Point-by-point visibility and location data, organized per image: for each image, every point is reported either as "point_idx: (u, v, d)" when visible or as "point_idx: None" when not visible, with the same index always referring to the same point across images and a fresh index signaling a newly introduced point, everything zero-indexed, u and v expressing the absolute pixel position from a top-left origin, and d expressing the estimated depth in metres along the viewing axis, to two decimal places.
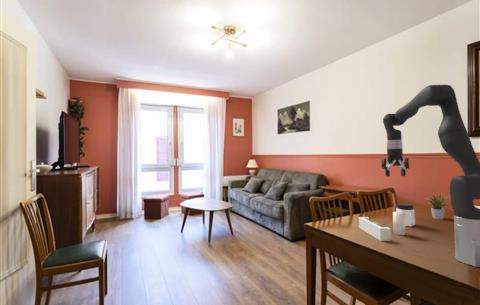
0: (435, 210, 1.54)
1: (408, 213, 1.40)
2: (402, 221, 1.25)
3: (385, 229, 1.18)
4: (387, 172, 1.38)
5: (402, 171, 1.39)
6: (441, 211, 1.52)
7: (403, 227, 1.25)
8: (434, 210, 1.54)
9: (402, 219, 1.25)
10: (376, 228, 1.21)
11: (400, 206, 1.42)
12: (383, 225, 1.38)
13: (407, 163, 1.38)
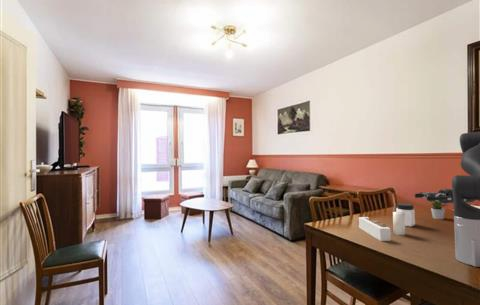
0: (435, 210, 1.54)
1: (408, 213, 1.40)
2: (402, 221, 1.25)
3: (385, 229, 1.18)
4: None
5: None
6: (441, 211, 1.52)
7: (403, 227, 1.25)
8: (434, 210, 1.54)
9: (402, 219, 1.25)
10: (376, 228, 1.21)
11: (400, 206, 1.42)
12: (384, 226, 1.37)
13: (444, 196, 1.22)
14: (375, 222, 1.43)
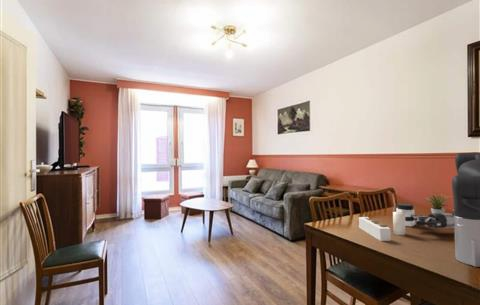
0: (435, 210, 1.54)
1: (408, 213, 1.40)
2: (402, 221, 1.25)
3: (385, 229, 1.18)
4: None
5: None
6: (441, 211, 1.52)
7: (403, 227, 1.25)
8: (434, 210, 1.54)
9: (402, 219, 1.25)
10: (376, 228, 1.21)
11: (400, 206, 1.42)
12: None
13: (434, 221, 1.21)
14: None
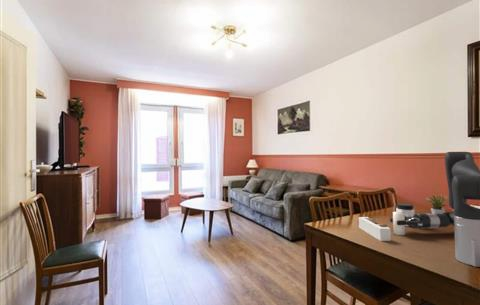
0: (435, 210, 1.54)
1: (408, 213, 1.40)
2: None
3: (385, 229, 1.18)
4: None
5: None
6: (441, 211, 1.52)
7: (403, 227, 1.25)
8: (434, 210, 1.54)
9: (402, 219, 1.25)
10: (376, 228, 1.21)
11: (400, 206, 1.42)
12: None
13: (415, 221, 1.22)
14: None
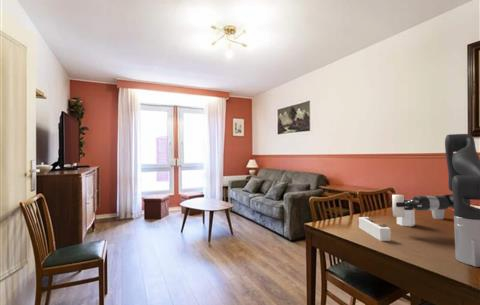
0: (435, 210, 1.54)
1: (408, 213, 1.40)
2: None
3: (385, 229, 1.18)
4: None
5: None
6: (441, 211, 1.52)
7: (402, 209, 1.25)
8: (434, 210, 1.54)
9: (401, 201, 1.25)
10: (376, 228, 1.21)
11: None
12: None
13: (414, 203, 1.22)
14: None
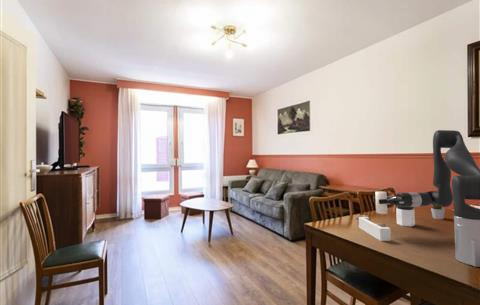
0: (435, 210, 1.54)
1: (408, 213, 1.40)
2: None
3: (385, 229, 1.18)
4: None
5: None
6: (441, 211, 1.52)
7: (385, 206, 1.26)
8: (434, 210, 1.54)
9: (384, 198, 1.26)
10: (376, 228, 1.21)
11: None
12: (384, 226, 1.37)
13: (396, 199, 1.23)
14: None
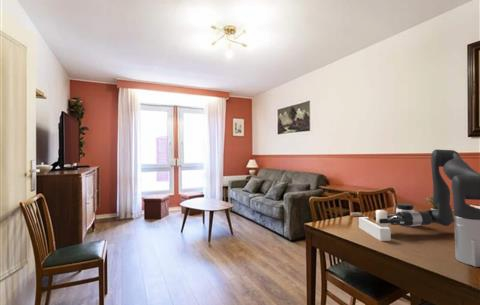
0: None
1: None
2: None
3: (385, 229, 1.18)
4: None
5: None
6: None
7: (386, 225, 1.26)
8: None
9: (384, 217, 1.26)
10: (376, 228, 1.21)
11: (400, 206, 1.42)
12: None
13: (397, 219, 1.23)
14: (358, 214, 1.64)
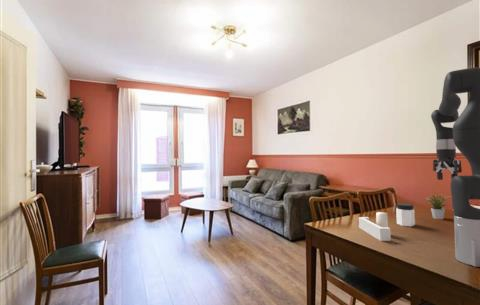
0: (435, 210, 1.54)
1: (408, 213, 1.40)
2: (385, 221, 1.26)
3: (385, 229, 1.18)
4: (437, 175, 1.27)
5: None
6: (441, 211, 1.52)
7: None
8: (434, 210, 1.54)
9: (385, 219, 1.26)
10: (376, 228, 1.21)
11: (400, 206, 1.42)
12: None
13: (455, 166, 1.16)
14: None
